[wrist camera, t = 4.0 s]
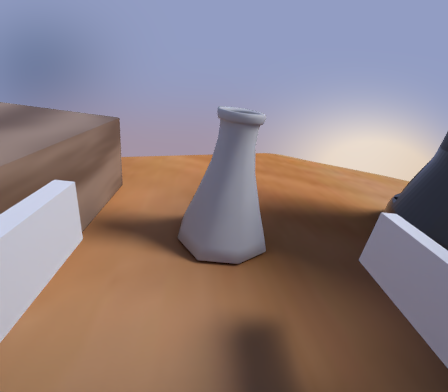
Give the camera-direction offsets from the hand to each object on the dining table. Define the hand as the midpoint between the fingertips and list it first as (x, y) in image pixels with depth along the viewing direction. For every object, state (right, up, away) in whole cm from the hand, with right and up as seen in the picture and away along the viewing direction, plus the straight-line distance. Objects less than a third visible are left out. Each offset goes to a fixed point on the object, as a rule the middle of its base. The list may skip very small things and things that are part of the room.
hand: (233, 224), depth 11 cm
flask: (-1, -2, +9) cm, 10 cm away
